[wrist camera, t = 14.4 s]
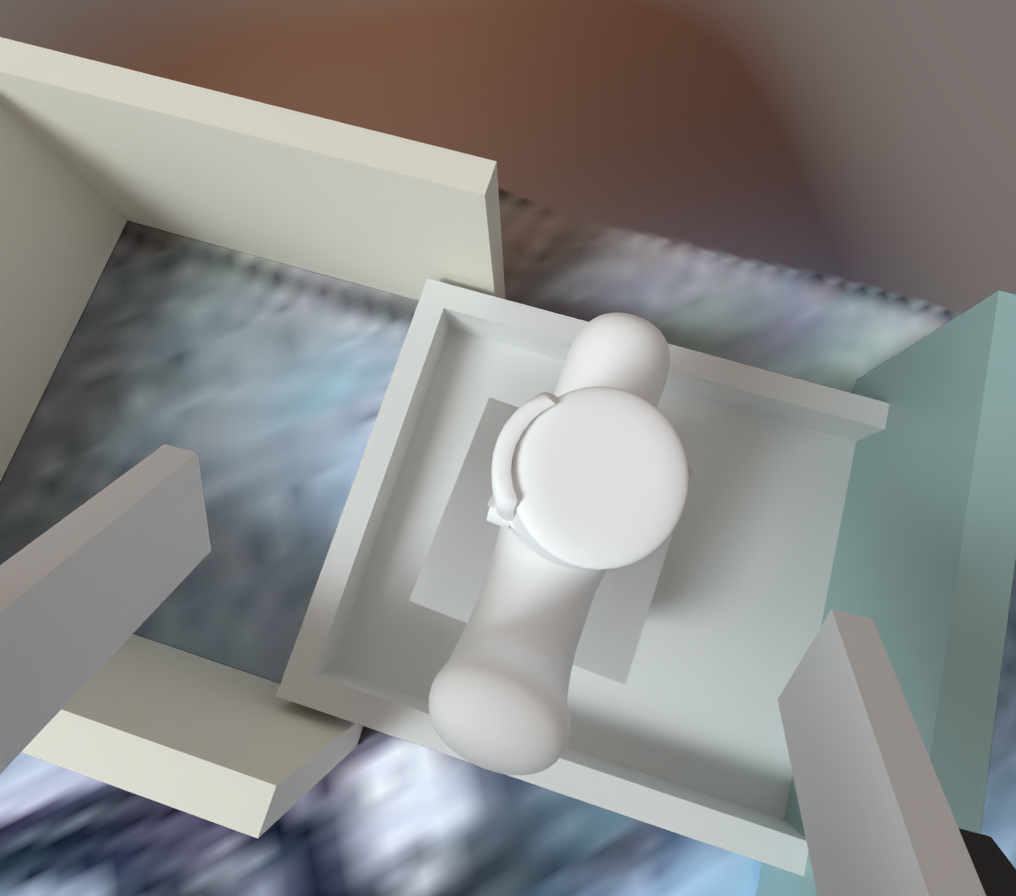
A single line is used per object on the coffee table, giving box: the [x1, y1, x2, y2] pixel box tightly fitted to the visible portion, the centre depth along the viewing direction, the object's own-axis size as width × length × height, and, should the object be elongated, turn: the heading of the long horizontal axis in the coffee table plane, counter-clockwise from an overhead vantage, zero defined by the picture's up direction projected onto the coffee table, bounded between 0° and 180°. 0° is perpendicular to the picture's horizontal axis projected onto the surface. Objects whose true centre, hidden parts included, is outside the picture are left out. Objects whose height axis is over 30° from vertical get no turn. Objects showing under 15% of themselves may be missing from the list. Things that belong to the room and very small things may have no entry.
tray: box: [276, 278, 1016, 896], centre depth 21 cm, size 19×20×8 cm
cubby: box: [0, 37, 505, 838], centre depth 22 cm, size 19×19×9 cm
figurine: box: [409, 312, 693, 775], centre depth 16 cm, size 7×9×15 cm
